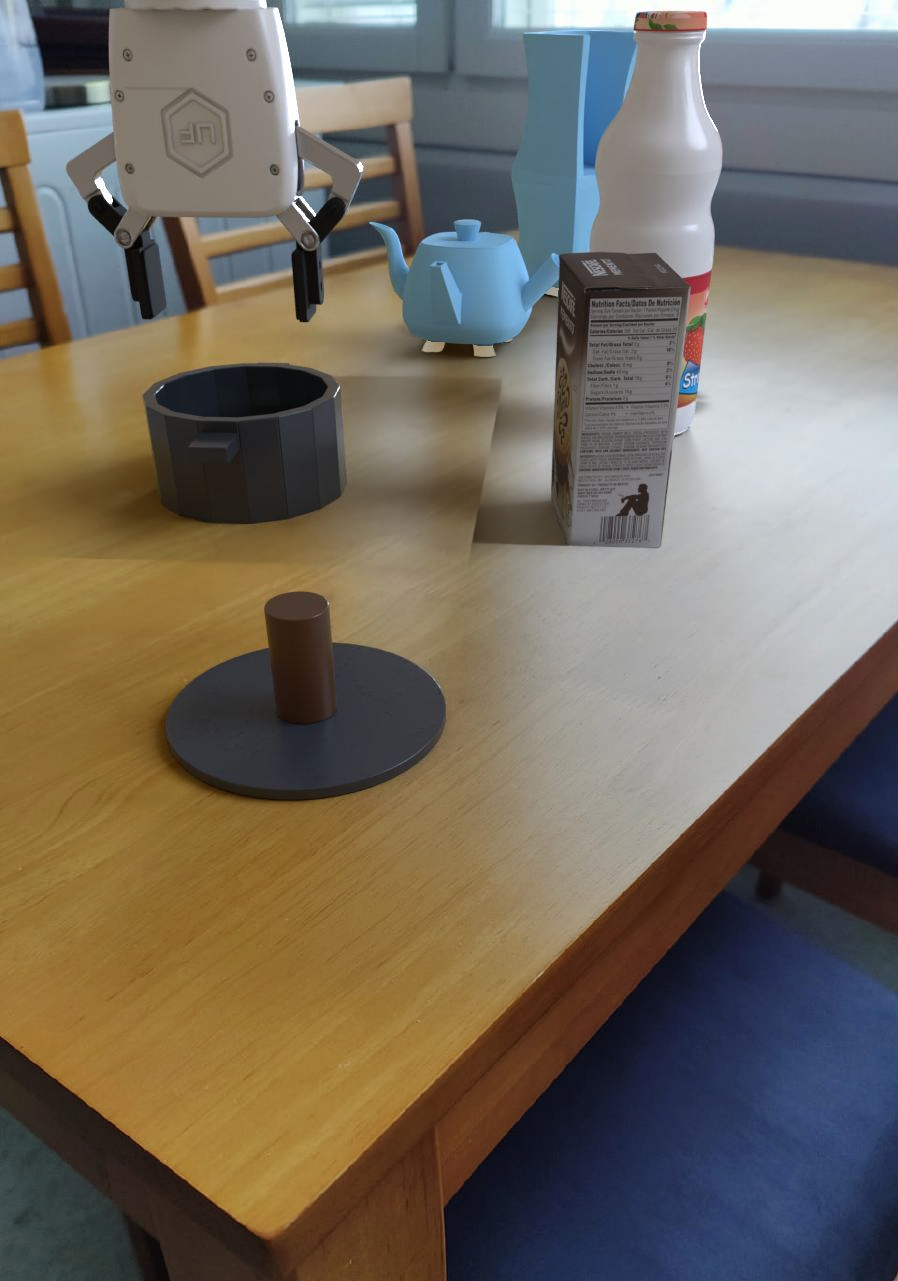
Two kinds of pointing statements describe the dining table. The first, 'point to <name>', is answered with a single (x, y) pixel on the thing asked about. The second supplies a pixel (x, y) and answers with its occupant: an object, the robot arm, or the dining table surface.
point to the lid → (305, 712)
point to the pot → (247, 442)
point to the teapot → (466, 285)
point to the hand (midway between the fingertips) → (230, 315)
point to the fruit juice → (664, 173)
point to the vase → (566, 136)
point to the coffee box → (616, 396)
